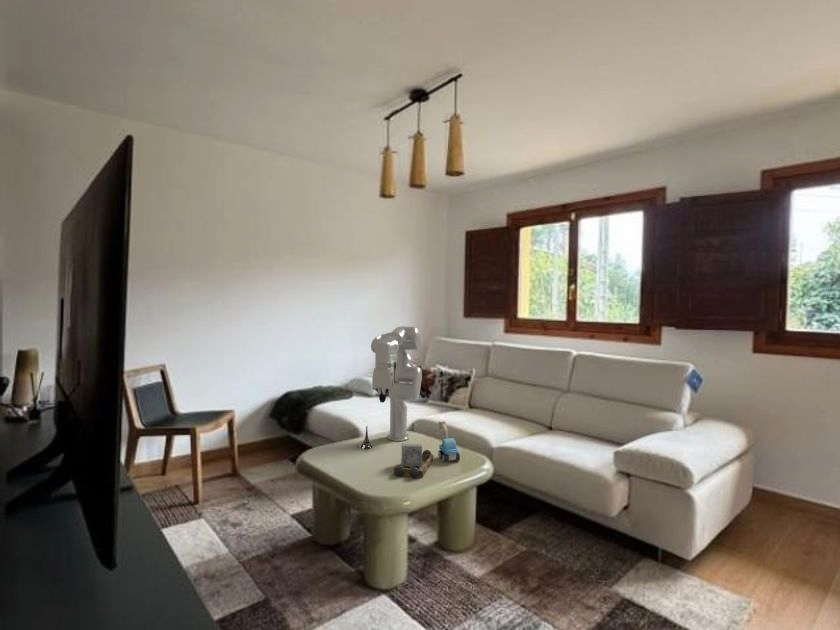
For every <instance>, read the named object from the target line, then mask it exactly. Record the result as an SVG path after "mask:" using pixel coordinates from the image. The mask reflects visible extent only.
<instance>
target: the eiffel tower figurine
mask: <svg viewBox="0 0 840 630" xmlns="http://www.w3.org/2000/svg"><path fill="white" fill-rule="evenodd" d="M368 433H369V432H368V425H366V426H365V437H364V440H363V442H362V443H361V444H362V445H361V444H360V445H361V447H359V449H362V447H363V445H365V448H364V449H365V450H364V449H363V450H364V451H368V450H370V449H373V448H374V446H373V445H371V442H370V439H369V434H368ZM378 445H379V444H378ZM368 446H370V447H371V448H370V447H368Z"/></svg>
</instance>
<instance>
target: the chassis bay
mask: <svg viewBox="0 0 840 630" xmlns="http://www.w3.org/2000/svg"><path fill="white" fill-rule="evenodd" d="M425 460H427V461H425ZM422 461H425V463H424V464H423V465H422V466H421V467H422V468H421V469H419V468H417V466H414V467H413V468H411V467H410V468H408V467H405V466H402V465H397V466H394V467H393V475H396V476H397V477H402V476H407V477H411V479H417V478H424V476H425V474H426V473H427V471H428V470H429V468H430V467H431V465H432V464H433V462H434V454H432V451H430V450H429V449H425V450H423V452H422ZM429 466H430V467H429Z"/></svg>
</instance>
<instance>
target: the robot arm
mask: <svg viewBox="0 0 840 630" xmlns="http://www.w3.org/2000/svg"><path fill="white" fill-rule="evenodd" d="M370 344H371V345H370V349H371V352H372V353H374V354H375V355H374V359H375V361H374V363H375V364H374V365H375V366H374V367H373V373H372V379H371V381H372V382H371V383H372V384H371V385H372V388H371V389H372V390H373V391H376V392H377V394H378V395H379V397H378V398H379V402H380V403H382V404H383V403H385V402H386V400H387V394H389V401H390V402H389V403H390V406H389V407H390V410H389V414H390V415H389V433H388V434H387V436H386V439H387V440H389V441H394V442H403V441H406V440H409V439H410V435H409V434H408V433H407V429H408V427H407V426H408V425H407V422H408V419H407V416H408V406H407V404H406V403H405V401H406V402H407V401H409V402H410V401H411V402H415V401H418V400H419V398H420V395H421V394H420V393H421V386H422V380H423V370H422V368H420V367H419V366H412V357H411V355H410V353H408V351H411V352H412V351H414V352H415V351H416V352H418V351H421V350H422V349H423V347H424V342H423V337H422V335H421V333H420V331H419V329H418V328H417V327H416V326H397V327H396V328H395V329H393V330H392V331H390V332H386V333H383V334H379V335H377V336H375V337H374V338H373V340H372V341H371V343H370ZM394 354H396V358H397V360H396V366H395V371H394V374H393V369H392V368H393V367H394V364H393V363H392V362H391V355H394ZM394 379H395V381H397V382H394Z"/></svg>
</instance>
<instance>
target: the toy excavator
mask: <svg viewBox="0 0 840 630" xmlns="http://www.w3.org/2000/svg"><path fill="white" fill-rule="evenodd" d="M437 425H438V426H437V427H438V430H439V431H440V430H441V431H443V435H444V436H443V437H444V438H443V439H442V440H441V444H439V450H438V451H437V453H438V454H437V456H438V457H439V459H441V461H442V463H448V462H449V461H455V462H458V461H460V460H461V454H460V452H459V449H458V447H457V443H456V440H455V438H453V437H451V438H450V437H449V429H448V428H447V425H446V420H440V421H438V423H437Z"/></svg>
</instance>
